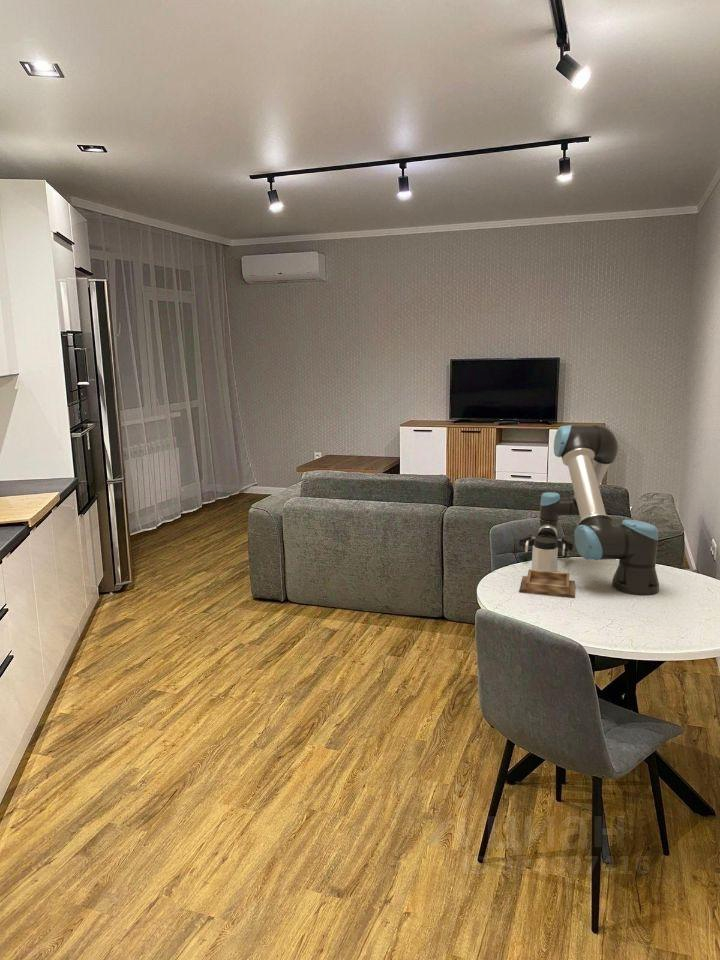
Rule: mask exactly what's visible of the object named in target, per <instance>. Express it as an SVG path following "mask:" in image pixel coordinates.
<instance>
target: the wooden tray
mask: <svg viewBox="0 0 720 960" xmlns="http://www.w3.org/2000/svg"><path fill="white" fill-rule="evenodd" d="M518 592H519V593H522V594H532V593H534V595H541V594H542V596H551V595H552V596H551V597H554V596H555V597H561V598H562V597H563V598H564V597H565V598H571V599H572V598H573V599H575V598H576V580H570V573H567V572H558V571H557V572H548V571H538V570H532V569H528V571H527V575H522V576H521V582H520V585H519V589H518Z"/></svg>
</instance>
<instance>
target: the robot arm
mask: <svg viewBox="0 0 720 960" xmlns="http://www.w3.org/2000/svg"><path fill="white" fill-rule="evenodd" d="M618 452H619V444H618V440H617V437H616V436H615V434H614V432H612V431H611V430H610V428H607V427H606V426H603V425H599V424H598V425H596V424H595V425H572V424H569V425H561V426H560V427H558V428H557V430H556V433H555V436H554V439H553V454H554V456H555V457H558V458H561V460H562V464H563V465H565V466H567V468H568V470H569V475H570V480H571V484H572V488H573V493H574V496H572V497H561V495H560V494H559V493H558V492H551V491H549V492H543V493H542V494H541V497H540V503H539V504H540V505H539V521H540V528H539V527H538V533H537V535H536V536H535V537H534V536H533V535H532V534H529V535H527V536H526V537H523V538H520V539H519V540H518V546H519V547H522V548H523V549H524V552H525V553H528V550H529V547H533V546H534V539H535V538H538V537H549V538H553V539H556V540H557V548H558V549H561V550H562V554H561V555H562V556H565V552H566V553H567V552H568V551H571V552H572V551H573V550H574V546H575V548H576V551H577V553H578V554H579V556H580V557H582V558H583V559H584V560H593V561H601V560H602V561H603V560H604V561H605V560H618V561H619V562H618V565H617V568H616V570H615V572H614V574H613V577H612V580H611V586H612V588H614V589H616V590H618V591H621V592H623V593H627V594H631V595H638V596H639V595H641V596H643V595H644V596H646V595H647V596H648V595H654V594H656V593H658V592H659V591H660V581H659V578H658V573H657V570H656V564H657V563H656V562H657V555H658V554H657V553H658V544H659V542H658V541H659V529H658V528H657V526H656V525H654V524H652V523H649V522H646V521H641V520H637V519H628V518H627V519H623V520H622V522H621V524H614V522H613V518H612V517H611V515H608V514H607V513H606V509H605V505H604V502H603V498H602V493H601V489H600V485H601V484H602V482H603V479H604V477H605V475H606V472H607V471H608V469H609V467H610V465H611V464H613V463H614V462H615V460H616V457H617V456H618ZM560 516H561V517H565V516H567V517H568V516H570V517H578V516H579V518H580V520H579V522H578V523H577V526H576V527H575V529H574V533H573V535H574V536H573V537H574V544H573V543H572V542H571V541H568V540H567V539H566V538H565V537H561V538H560V539H559V538H558V531H559V517H560ZM540 519H541V520H540ZM542 520H543V521H542ZM539 521H538V522H539ZM548 521H549V522H548Z"/></svg>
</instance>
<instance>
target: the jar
mask: <svg viewBox="0 0 720 960" xmlns="http://www.w3.org/2000/svg"><path fill="white" fill-rule="evenodd" d="M558 552H559V548H558V547H557V540H556V539H553V538H549V537H538V538H535V539H534V545H533V546H532V553H531V555H532V557H531V570H538V571H548V572H558V571H557V570H558V554H559V553H558Z"/></svg>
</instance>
